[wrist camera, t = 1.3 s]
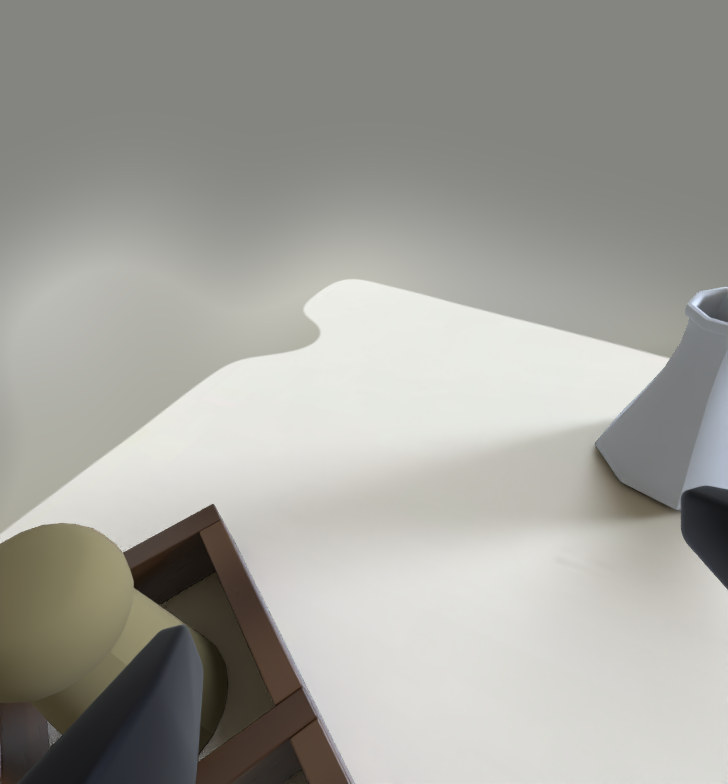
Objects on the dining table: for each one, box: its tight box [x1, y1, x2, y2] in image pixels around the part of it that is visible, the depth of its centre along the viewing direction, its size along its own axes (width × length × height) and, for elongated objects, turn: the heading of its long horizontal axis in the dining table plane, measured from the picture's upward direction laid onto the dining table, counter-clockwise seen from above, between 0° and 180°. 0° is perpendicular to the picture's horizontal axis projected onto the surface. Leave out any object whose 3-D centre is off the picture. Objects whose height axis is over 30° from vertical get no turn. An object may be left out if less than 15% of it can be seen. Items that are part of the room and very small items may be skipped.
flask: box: [595, 287, 728, 510], centre depth 25 cm, size 7×7×10 cm
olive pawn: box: [0, 523, 228, 755], centre depth 18 cm, size 6×6×11 cm
